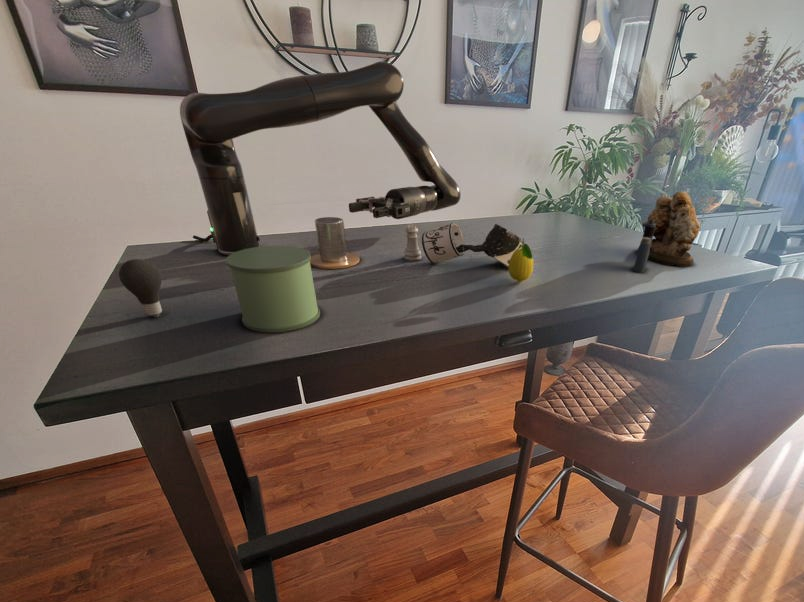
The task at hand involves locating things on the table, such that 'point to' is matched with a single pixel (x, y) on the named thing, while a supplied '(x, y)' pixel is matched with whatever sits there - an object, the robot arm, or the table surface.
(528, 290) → the table surface
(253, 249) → the green round canister
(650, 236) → the vaping device
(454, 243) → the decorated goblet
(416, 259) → the rook chess piece
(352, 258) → the cork mat
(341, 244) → the silver cup
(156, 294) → the light bulb
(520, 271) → the lemon
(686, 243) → the owl figurine
